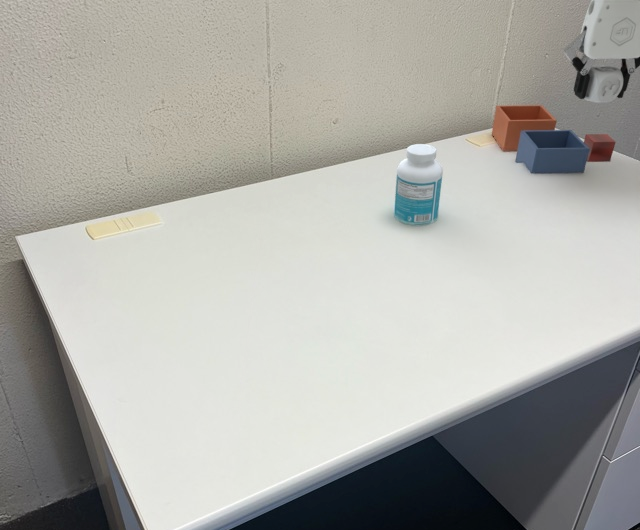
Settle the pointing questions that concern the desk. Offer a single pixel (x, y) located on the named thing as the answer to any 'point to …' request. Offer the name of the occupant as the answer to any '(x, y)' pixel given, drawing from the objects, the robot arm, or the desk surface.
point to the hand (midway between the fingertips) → (598, 95)
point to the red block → (599, 147)
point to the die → (604, 83)
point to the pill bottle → (418, 186)
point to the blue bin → (552, 151)
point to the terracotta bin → (519, 123)
